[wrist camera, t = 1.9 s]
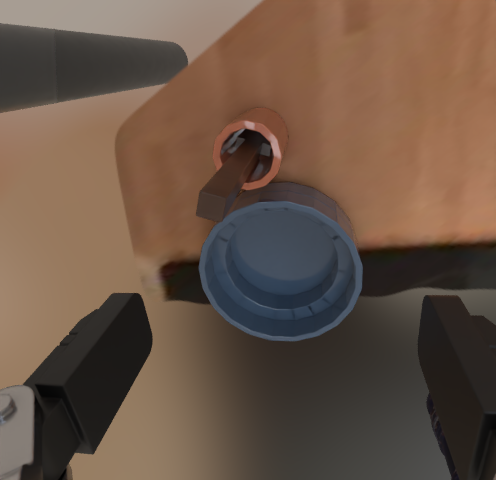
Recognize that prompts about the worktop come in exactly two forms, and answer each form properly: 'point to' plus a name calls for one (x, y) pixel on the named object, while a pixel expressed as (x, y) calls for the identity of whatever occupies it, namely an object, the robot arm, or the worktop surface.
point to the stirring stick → (232, 176)
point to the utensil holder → (269, 128)
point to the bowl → (282, 263)
